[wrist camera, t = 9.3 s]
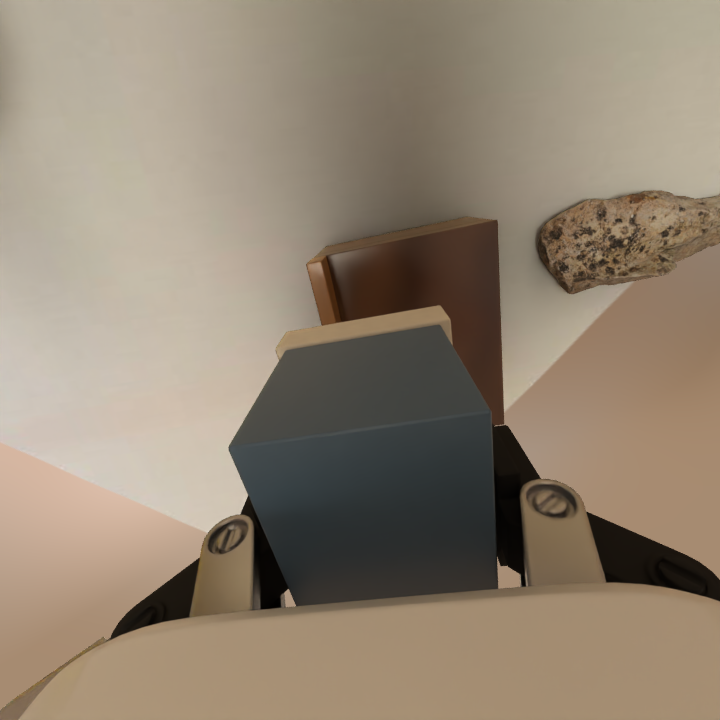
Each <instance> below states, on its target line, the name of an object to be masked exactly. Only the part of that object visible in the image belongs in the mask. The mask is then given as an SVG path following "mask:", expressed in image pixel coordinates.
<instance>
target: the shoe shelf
mask: <svg viewBox="0 0 720 720" xmlns="http://www.w3.org/2000/svg"><path fill="white" fill-rule="evenodd" d="M306 266H307V269H308V273H309V277H310V281H311V285H312V289H313V293H314V296H315V300H316V304H317V308H318V312H319V316H320V320H321V324H322V326H323V325H329V324H335V323H340V322H346V321H352V320H358V319H363V318H369V317H375V316H381V315H386V314H392V313H398V312H404V311H409V310H415V309H421V308H426V307H432V306H438V305H440V306H441V307H442V308H443V310H444V311H445V313H446V314H447V315H448V317H449V318H450V320H451V332H452V343H453V347H454V349H455V351H456V352H457V354H458V356H459V357H460V359H461V361H462V362H463V364H464V366H465V367H466V369H467V371H468V373H469V374H470V376H471V378H472V379H473V381H474V383H475V384H476V386H477V388H478V390H479V391H480V393H481V395H482V396H483V398H484V400H485V401H486V403H487V405H488V406H489V408H490V410H491V412H492V423H493V425H494V426H495V425H502V424H504V403H503V373H502V342H501V311H500V281H499V250H498V221H497V220H493V219H483V218H474V217H463V218H458V219H453V220H449V221H444V222H439V223H434V224H430V225H425V226H420V227H415V228H411V229H406V230H401V231H396V232H392V233H387V234H382V235H377V236H373V237H368V238H363V239H358V240H354V241H349V242H344V243H339V244H335V245H330V246H326V247H325V248H324V249H323V250H322V251H320V252H319V253H318V254H317V255H316V256H315V257H314V258H313V259H311V260H310V261H309V262H308V263H307V264H306Z"/></svg>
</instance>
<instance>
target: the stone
mask: <svg viewBox="0 0 720 720" xmlns="http://www.w3.org/2000/svg"><path fill="white" fill-rule="evenodd" d="M719 243H720V196H716V197H712V198H704V199H694V198H690V197H686V196H674V195H673V194H672V193H669V192H664V191H644V192H642V193H640V194H632V195H628V196H625V197H622V198H617V199H611V200H606V201H604V200H598V199H588V200H586V201H584V202H583V203H581V204H579V205H577V206H575V207H573V208H571V209H568V210H566V211H564V212H563V213H561V214H559V215H557V216H556V217H554V218H553V219H551V220H550V221H549V222H547V223H546V224H545V226H544V227H543V228H542V230H541V232H540V236H539V243H538V244H539V253H540V256H541V259H542V261H543V262H544V264H545V265H546V266H547V268H548V270H549V271H550V272H551V273H552V274H553V275H554V276H555V277H556V278H557V279H558V282H559V284H560V285H561V286H562V287H563V288H564V290H565V291H566V292H567V293H569V294H574V293H578V292H580V291H583V290H586V289H588V288H593V287H595V286H598V285H615V284H619V283H625V282H629V281H636V280H641V279H646V278H651V277H654V276H655V277H657V276H662V275H666V274H669V273H670V272H671V271H673V270H674V269H675V268H676V263H675V262H678V261H680V260H682V259H684V258H687V257H689V256H691V255H693V254H695V253H696V252H699V251H702V250H703V249H705V248H707V247H708V246H714V245H717V244H719Z"/></svg>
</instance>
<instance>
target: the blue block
mask: <svg viewBox="0 0 720 720" xmlns="http://www.w3.org/2000/svg"><path fill="white" fill-rule="evenodd" d="M276 352H277V356H278V359H279V362H278V364H277V366H276V367H275V369H274V371H273V372H272V374H271V376H270V377H269V379H268V381H267V383H266V384H265V386H264V388H263V389H262V391H261V393H260V394H259V396H258V398H257V399H256V401H255V403H254V405H253V406H252V408H251V410H250V411H249V413H248V415H247V416H246V418H245V420H244V421H243V423H242V425H241V427H240V428H239V430H238V432H237V433H236V435H235V437H234V438H233V440H232V442H231V443H230V445H229V452H230V454H231V456H232V459H233V461H234V463H235V466H236V468H237V470H238V472H239V475H240V477H241V479H242V482H243V484H244V486H245V489H246V491H247V493H248V496H249V498H250V500H251V502H252V505H253V507H254V509H255V512H256V514H257V516H258V519H259V521H260V523H261V526H262V528H263V530H264V533H265V535H266V537H267V539H268V542H269V544H270V546H271V549H272V551H273V553H274V556H275V558H276V560H277V563H278V565H279V567H280V569H281V572H282V574H283V576H284V579H285V581H286V583H287V586H288V588H289V590H290V592H291V595H292V597H293V600H294V602H295V604H296V606H306V605H316V604H327V603H338V602H350V601H361V600H372V599H384V598H395V597H407V596H418V595H430V594H442V593H454V592H466V591H479V590H491V589H498V573H497V545H496V519H495V492H494V465H493V439H492V412H491V410H490V408H489V406H488V405H487V403H486V401H485V400H484V398H483V396H482V395H481V393H480V391H479V390H478V388H477V386H476V384H475V383H474V381H473V379H472V378H471V376H470V374H469V373H468V371H467V369H466V367H465V366H464V364H463V362H462V361H461V359H460V357H459V356H458V354H457V352H456V351H455V349H454V347H453V343H452V332H451V320H450V318H449V317H448V315H447V314H446V313H445V311H444V310H443V308H442V307H441V306H440V305H438V306H432V307H426V308H421V309H415V310H409V311H404V312H398V313H392V314H386V315H381V316H375V317H369V318H363V319H358V320H352V321H346V322H340V323H335V324H329V325H323V326H318V327H312V328H306V329H300V330H295V331H289V332H286V333H285V335H284V336H283V338H282V339H281V341H280V342H279V344H278V345H277V347H276Z"/></svg>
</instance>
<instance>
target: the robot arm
mask: <svg viewBox="0 0 720 720" xmlns="http://www.w3.org/2000/svg"><path fill="white" fill-rule="evenodd" d="M492 439H493V465H494V492H495V519H496V545H497V557H498V559H499V563H500V565H501V566H508V567H510V568H511V569H513V570H514V571H516V572H518V573H519V574H520V587H515V588H503V589H491V590H479V591H466V592H454V593H442V594H430V595H418V596H407V597H395V598H384V599H372V600H361V601H350V602H338V603H327V604H316V605H306V606H295V607H286V606H285V595H284V592H285V591H286V590H287V589H288V586H287V583H286V581H285V579H284V576H283V574H282V572H281V569H280V567H279V565H278V563H277V560H276V558H275V556H274V553H273V551H272V549H271V546H270V544H269V542H268V539H267V537H266V535H265V533H264V530H263V528H262V526H261V523H260V521H259V519H258V516H257V514H256V512H255V509H254V507H253V505H252V502H251V500H250V498H249V496H248V498H247V500H246V502H245V505H244V507H243V509H242V512H241V514H240V515H234V516H230V517H228V518H226V519H223V520H222V521H220V522H219V523H218V524H216V525H215V526H214V527H213V528H212V529H211V530H210V531H209V532H208V534H207V535H206V537H205V538H204V541H203V545H202V549H201V554H200V558H198V559H197V560H196V561H194V562H193V563H192V564H190V565H189V566H188V567H186V568H185V569H184V570H182V571H181V572H180V573H179V574H177V575H176V576H174V577H173V578H172V579H170V580H169V581H168V582H166V583H165V584H164V585H162V586H161V587H160V588H158V589H157V590H156V591H154V592H153V593H152V594H151V595H149V596H148V597H146V598H145V599H144V600H142V601H141V602H140V603H138V604H137V605H136V606H135V607H133V608H132V609H131V610H130V611H129V612H128V613H127V614H126V615H125V616H124V617H123V618H122V620H121V621H120V622H119V623H118V625H117V626H116V628H115V630H114V631H113V633H112V635H111V638H109V639H108V640H106V639H105V638H104V637H102V638H101V639H99V640H98V641H97V642H95V643H94V644H92V645H91V646H89V647H88V648H86V649H85V650H84V651H82V652H81V653H79V654H78V655H76V656H75V657H74V658H72V659H71V660H69V661H68V662H66V663H65V664H64V665H62V666H60V667H59V668H58V669H56V670H55V671H53V672H52V673H50V674H49V675H48V676H46V677H45V678H43V679H42V680H40V681H39V682H37V683H36V684H35V685H33V686H32V687H30V688H29V689H28V690H26V691H25V692H23V693H22V694H20V695H19V696H17V697H16V698H15V699H13V700H12V701H11V702H10V703H9V704H7V705H6V706H5V707H4V708H2V709H1V710H0V720H720V580H719V579H718V578H717V576H716V575H715V574H714V573H713V572H712V571H710V570H709V569H708V568H707V567H705V566H704V565H702V564H701V563H700V562H698V561H696V560H695V559H693V558H691V557H689V556H687V555H685V554H683V553H680V552H678V551H676V550H674V549H671V548H669V547H667V546H664V545H662V544H660V543H657V542H655V541H652V540H651V539H648V538H646V537H644V536H641V535H639V534H637V533H634V532H632V531H630V530H627V529H625V528H623V527H621V526H618V525H616V524H614V523H611V522H609V521H607V520H605V519H602V518H600V517H598V516H595V515H593V514H591V513H588V512H586V510H585V506H584V503H583V501H582V499H581V497H580V495H579V494H578V493H576V491H575V490H574V489H572V488H571V487H569V486H567V485H566V484H563V483H561V482H558V481H555V480H550V479H541V478H540V477H539V475H538V473H537V472H536V470H535V469H534V467H533V465H532V464H531V462H530V461H529V459H528V457H527V456H526V454H525V452H524V451H523V449H522V448H521V446H520V444H519V443H518V441H517V440H516V438H515V436H514V435H513V433H512V432H511V430H510V429H509V427H508V426H506V425H503V426H496V427H494V425H493V423H492Z"/></svg>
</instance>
